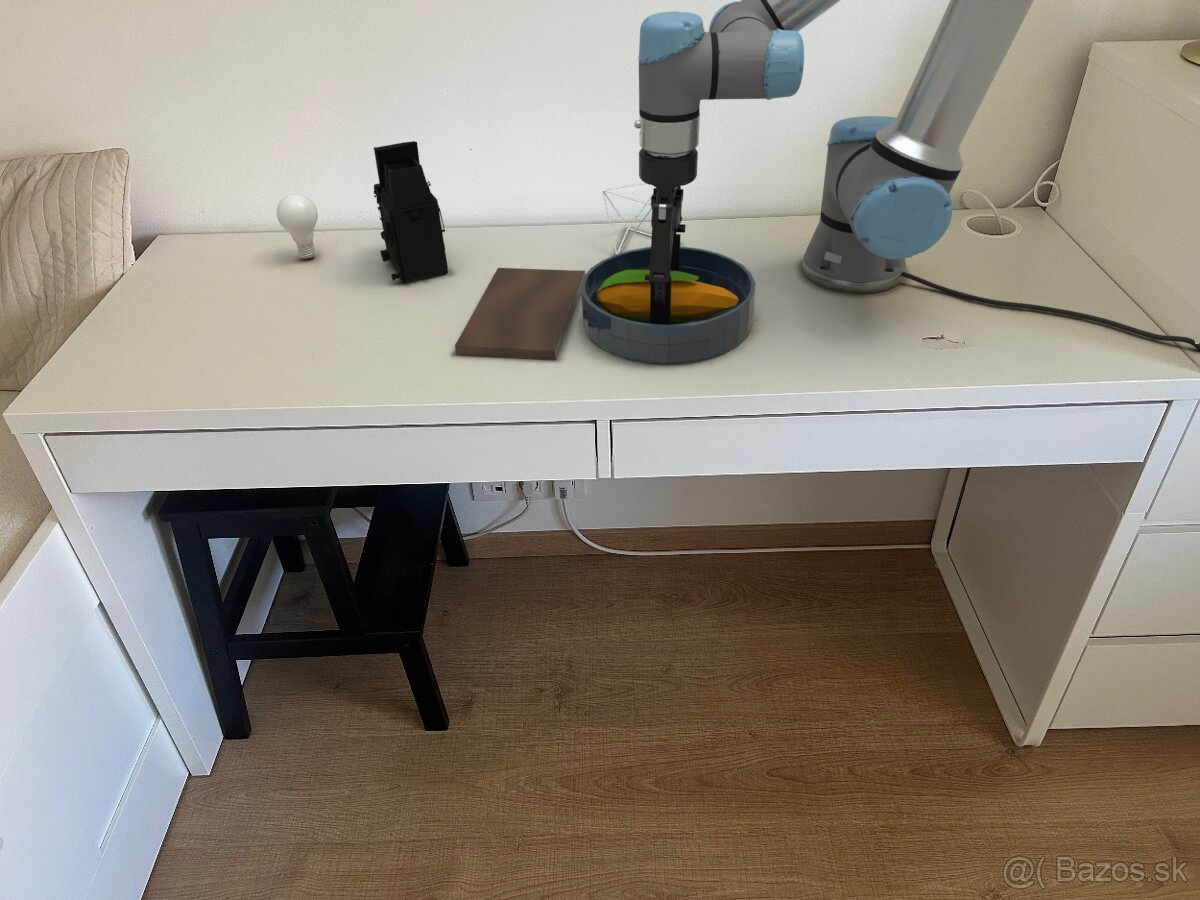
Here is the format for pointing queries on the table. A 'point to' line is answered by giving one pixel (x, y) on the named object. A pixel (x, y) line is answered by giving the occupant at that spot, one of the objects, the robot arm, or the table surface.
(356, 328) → the table surface
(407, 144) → the camera
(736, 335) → the bowl
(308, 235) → the lightbulb
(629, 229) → the geometric polyhedron
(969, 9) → the robot arm
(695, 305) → the corn
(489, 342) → the walnut board
